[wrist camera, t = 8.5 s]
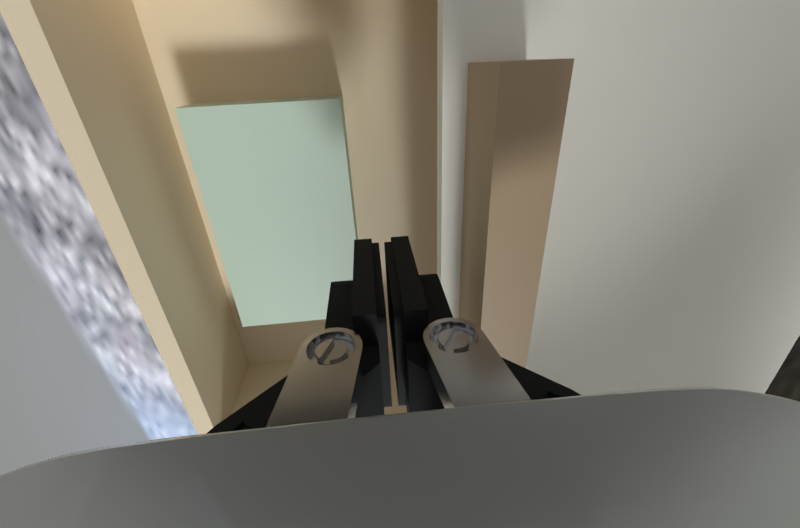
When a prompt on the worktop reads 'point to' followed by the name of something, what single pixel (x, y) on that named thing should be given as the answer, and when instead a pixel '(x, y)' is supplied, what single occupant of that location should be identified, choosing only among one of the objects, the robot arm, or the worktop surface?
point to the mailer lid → (623, 187)
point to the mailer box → (242, 163)
